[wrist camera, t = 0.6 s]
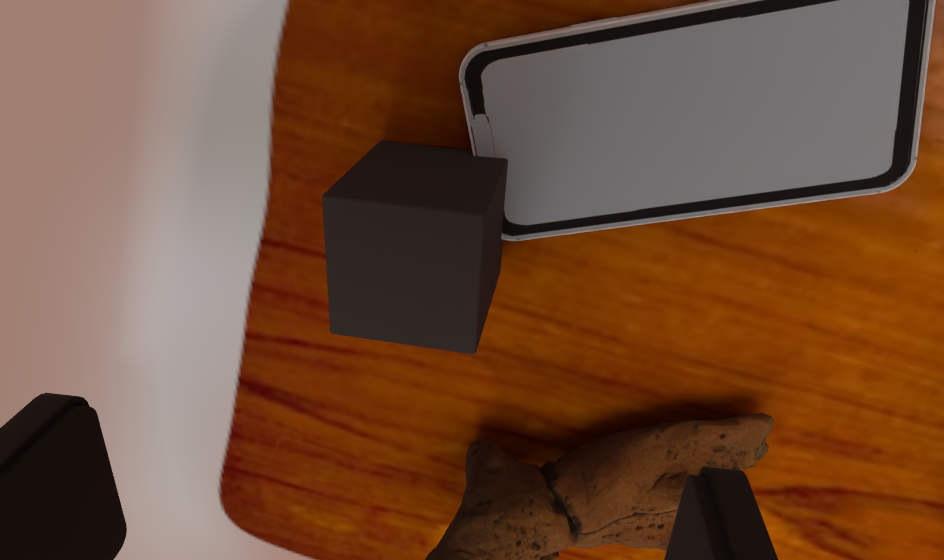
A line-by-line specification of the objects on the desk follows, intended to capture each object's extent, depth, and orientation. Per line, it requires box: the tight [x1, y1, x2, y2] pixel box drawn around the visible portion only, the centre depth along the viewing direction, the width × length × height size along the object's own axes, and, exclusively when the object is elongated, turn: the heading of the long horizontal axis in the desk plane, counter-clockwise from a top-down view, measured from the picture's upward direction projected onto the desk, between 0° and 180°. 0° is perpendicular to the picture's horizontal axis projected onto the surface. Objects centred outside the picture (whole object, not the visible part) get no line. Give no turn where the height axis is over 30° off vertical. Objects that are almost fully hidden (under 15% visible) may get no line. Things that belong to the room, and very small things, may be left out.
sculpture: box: [425, 413, 774, 560], centre depth 27 cm, size 8×10×15 cm
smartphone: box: [459, 0, 936, 241], centre depth 23 cm, size 7×1×15 cm
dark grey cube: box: [323, 141, 508, 354], centre depth 23 cm, size 5×5×6 cm
